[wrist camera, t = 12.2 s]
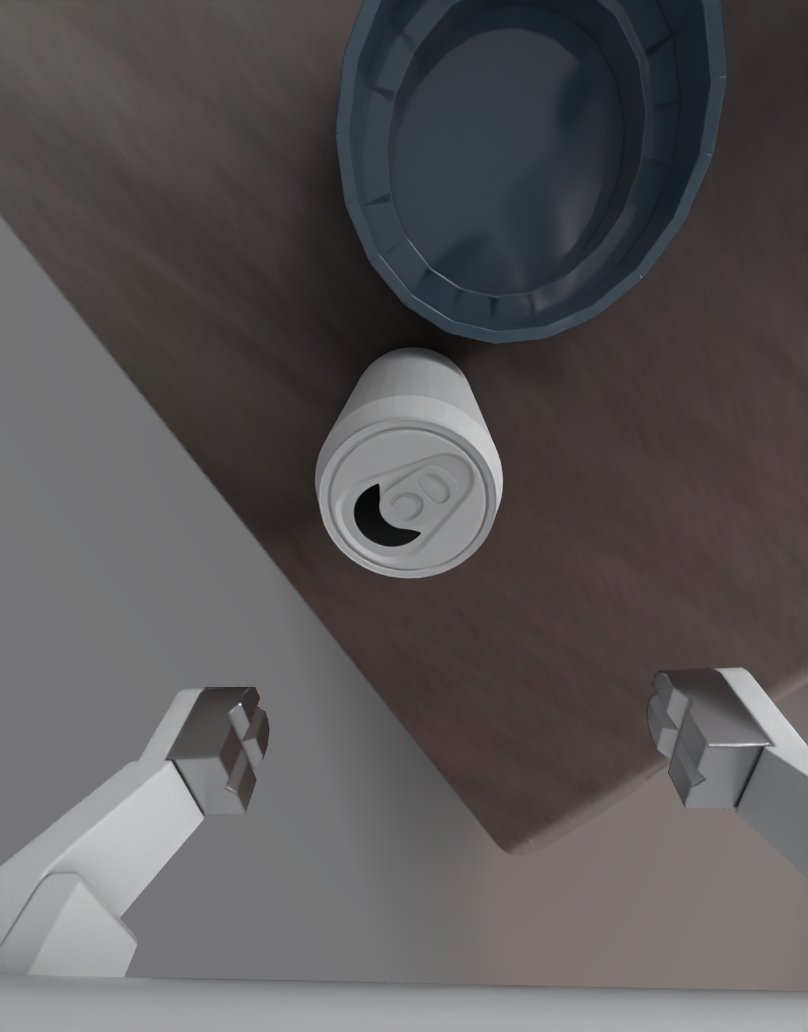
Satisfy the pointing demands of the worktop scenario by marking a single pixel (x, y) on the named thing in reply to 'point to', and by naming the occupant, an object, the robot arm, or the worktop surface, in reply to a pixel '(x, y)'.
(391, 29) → the bowl
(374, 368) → the beverage can
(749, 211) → the worktop surface
